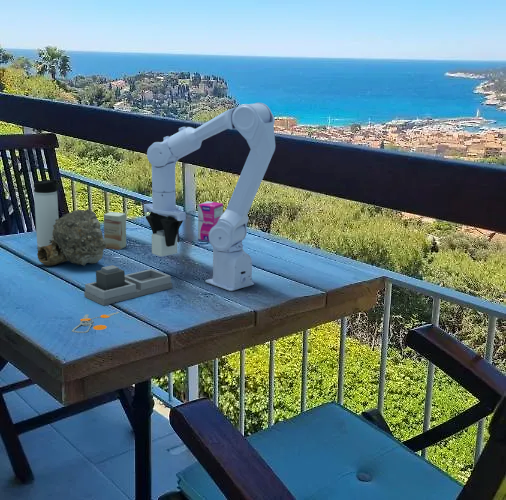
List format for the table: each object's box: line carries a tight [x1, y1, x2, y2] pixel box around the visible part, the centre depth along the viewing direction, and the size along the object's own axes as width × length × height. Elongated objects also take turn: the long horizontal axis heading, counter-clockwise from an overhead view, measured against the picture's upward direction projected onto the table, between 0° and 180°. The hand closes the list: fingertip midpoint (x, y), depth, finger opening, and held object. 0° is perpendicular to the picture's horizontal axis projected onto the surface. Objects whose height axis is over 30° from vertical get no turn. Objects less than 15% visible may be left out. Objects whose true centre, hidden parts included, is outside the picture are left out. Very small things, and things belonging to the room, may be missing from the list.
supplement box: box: [197, 200, 224, 243], centre depth 205 cm, size 6×6×12 cm
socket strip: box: [83, 268, 173, 306], centre depth 157 cm, size 8×19×3 cm, turn 135°
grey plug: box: [151, 230, 178, 258], centre depth 170 cm, size 4×5×6 cm
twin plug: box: [95, 264, 126, 291], centre depth 153 cm, size 4×5×6 cm
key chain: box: [71, 311, 120, 334], centre depth 139 cm, size 13×7×1 cm, turn 172°
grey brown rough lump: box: [36, 208, 107, 267], centre depth 177 cm, size 18×14×15 cm
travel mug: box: [33, 178, 60, 251], centre depth 191 cm, size 6×7×20 cm
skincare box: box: [103, 211, 127, 251], centre depth 195 cm, size 5×4×10 cm
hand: (164, 244), depth 170 cm, fingers closed on grey plug, 4 cm apart
